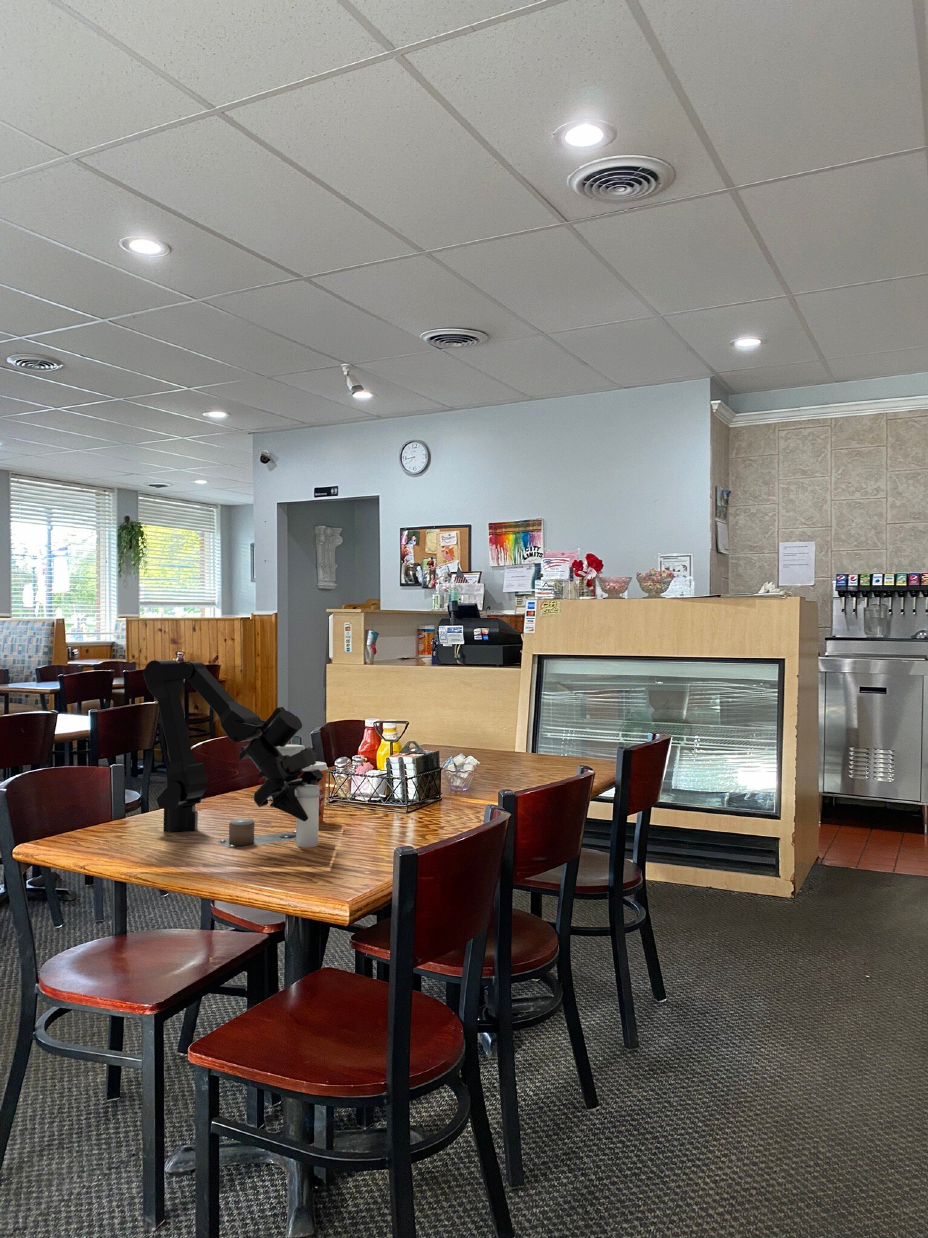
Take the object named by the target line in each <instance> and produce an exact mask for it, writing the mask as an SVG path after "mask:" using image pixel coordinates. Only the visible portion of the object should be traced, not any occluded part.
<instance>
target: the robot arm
mask: <svg viewBox="0 0 928 1238" xmlns="http://www.w3.org/2000/svg"><path fill="white" fill-rule="evenodd" d="M143 679H144V681H145V683H146V684H145V685H146V686H147V687H146V688H147V690H148V691H149V693H151V695H152V696H153V697H154V698H155V700H156V701H157V704H158V709H159V714H160V715H159V716H160V719H161V724H162V728H163V733H164V738H165V743H166V744H165V745H166V748H167V754H168V758H169V761H170V762H169V767H168V770H167V774H166V788H165V789H164V790H163V791H162V793H161V794H159V796H157V798H156V801H157V802H156V803H157V806H158V808H159V809H163V828H162V829H163V832H167V833H171V834H172V833H178V834H179V833H187V832H195V831H197V830H198V822H199V820H198V817H199V813H198V812H199V811H197V810H196V804H197V805H199V804H201V802H202V798H203V795H204V794H205V792H206V790H207V789H208V781H209V777H208V776H207V770H206V765H205V763H204V762H201V763H198V761H196V759H195V758H194V756H193V751H192V747H191V742H190V737H189V731H188V728H187V723H186V718H185V714H184V709H183V704H182V699H181V694H182V691H183V687H184V685H185V682H184V681H187V682H188V683H189V684H190V685H191V687H192V688H194V690H195V691H196V692H197V693H198V694H199V695H200V696H201V698H202V699H203V700H204V701H205V702H206V703H207V705H208V706H209V707H210V708H211V709H212V710H213V711H214V712H215V714H216V715H217V717H218V718H219V722H220V727H221V729H222V730H223V731H224V733H225V735H226V736H227V738H228V739H229V740H230V741H231V742H233V743H241V742H249V741H250V742H249V743H248V744H246V745H243V746H241V747H240V748H239V749H240V751H239V755H238V759H239V760H240V761H241V760H246V759H247V760H248V759H251V761H252V762H253V764H254V765H255V766H256V768H257V769H258V770H259V772H260V773H259V774H258V775H257V776H258V777H259V778H260V780H261V779H262V780H263V779H265V781H264V783H262V785H261V786H259V788H258V789H257V790H256V791H255V792H254V794H253V801H254V803H255V804H256V806H257V807H258V808H261V807H265V806H267V805H268V804H269V799H268V798H269V796H272V797H273V798H272V800H271V801H272V802H271V803H270V804H269V806H270V807H271V808H275V809H278V810H280V811H282V812H285V813H286V814H288V815H290V816H292V817H294V818H295V819H296V818H298V819H300V820H302V821H306V820H307V819H308V816H307V814H306V812H305V811H304V809H303V808H302V806H301V804H300V803H299V801H298V800H297V796H295V794H296V795H297V786H300V785H317V784H318V783H319V782H320V781H321V780H322V778H323V777H324V775H323V774H322V773H321V771H320V770H319V769H312V770H308V771H305V772H304V773H303V770H302V769H304V768H306V767H308V766H310V765H314V764H316V762H317V758H318V753H316V752H315V751H314V749H312V748H311V747H310V746H308V747H306V748H305V749H304V750H301V751H300V752H299V753H297V754H295V755H292V756H289V755H284V756H283V755H282V754H281V752H280V751H279V750H278V748H277V747H278V746H280V747H284V746H286V745H289V743H290V742H291V740H292V739H293V738H294V737H295V736H296V735H297V734H298V733H299V731H301V729H302V728H303V723H302V721H301V720H300V717H298V716H297V715H295V714H293V713H292V712H291V711H289V710H286V709H285V707H284V706H279V707H276V708H275V709H273V712H272V714H271V715H270V716H269V717H268V718H267V719H266V720H264V719H261V717H260V716H259V715H258V714H256V713H255V712H254V711H253V710H252V709H250V708H248V707H246V706H244V705H242V704H241V703H239V702H237V701H236V700H235V699H234V697H233V696H231V695H230V693H229V692H228V691H227V690H226V688H224V687H223V685H221V682H219V681H218V680H217V679H216V677H215V676H213V674H212V673H211V672H210V671H209V670H208V669H207V666H206V664H205V663H203V662H202V661H187V662H183V663H182V662H181V663H180V662H178V660H175V659H156V660H155V659H154V660H153V659H152V660H149V661H148V663H147V664H146V665H145V668H144V669H143ZM302 773H303V775H302V776H301V777H300V778H299V779H298V776H299V775H301V774H302ZM320 815H321V811H320V808H319V816H320Z"/></svg>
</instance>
